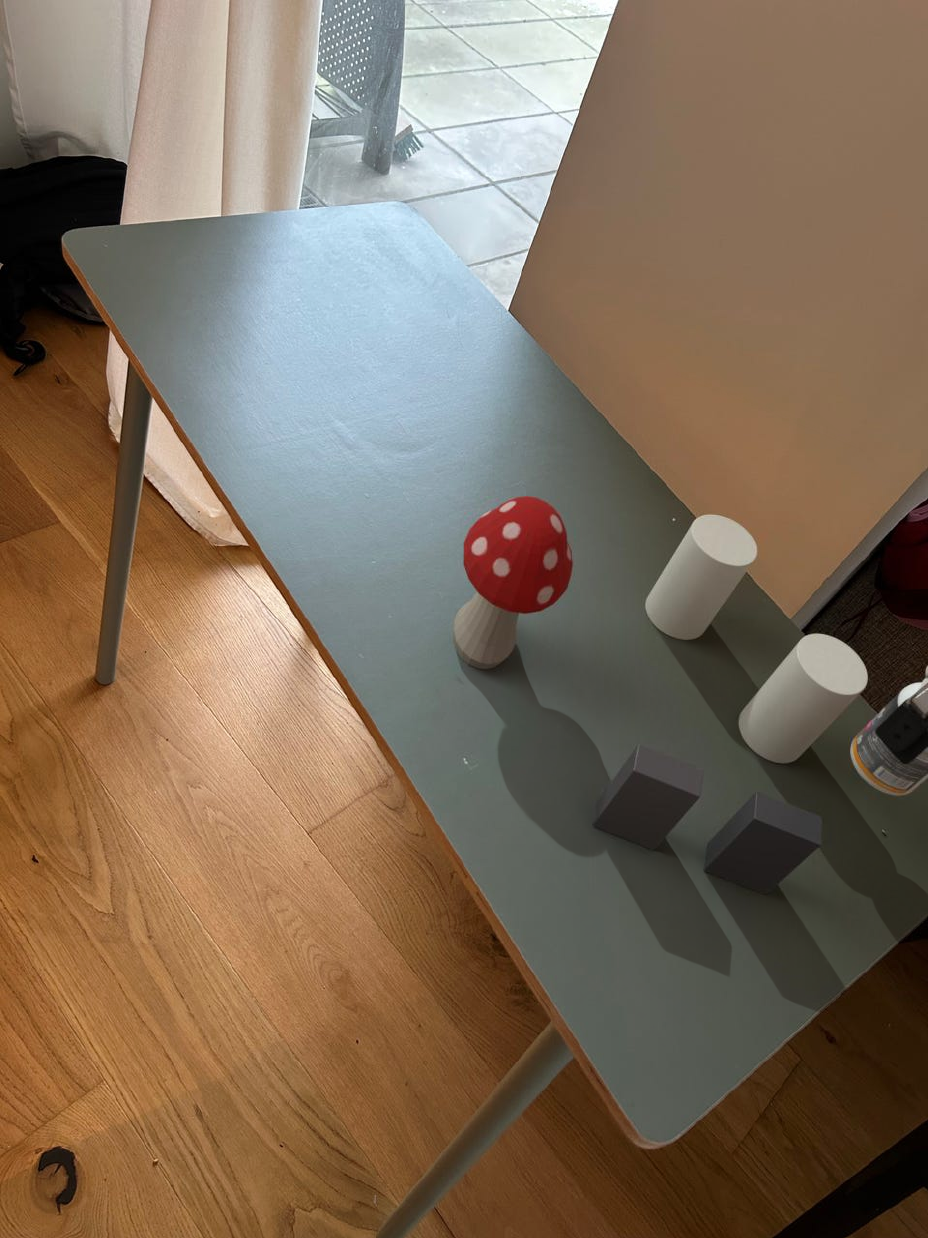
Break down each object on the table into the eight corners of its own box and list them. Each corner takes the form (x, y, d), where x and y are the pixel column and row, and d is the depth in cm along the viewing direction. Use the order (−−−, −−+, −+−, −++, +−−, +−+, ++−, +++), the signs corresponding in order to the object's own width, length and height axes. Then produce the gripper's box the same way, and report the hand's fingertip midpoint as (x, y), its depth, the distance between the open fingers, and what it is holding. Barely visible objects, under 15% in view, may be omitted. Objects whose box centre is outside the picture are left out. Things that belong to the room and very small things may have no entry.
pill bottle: (879, 727, 80) (956, 651, 73) (929, 786, 78) (1014, 713, 70) (832, 747, 77) (908, 670, 70) (882, 809, 75) (966, 736, 67)
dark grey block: (767, 868, 77) (822, 817, 71) (765, 895, 75) (821, 845, 69) (706, 843, 77) (756, 790, 71) (703, 870, 75) (754, 818, 69)
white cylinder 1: (708, 604, 94) (759, 530, 87) (702, 649, 90) (755, 575, 83) (649, 580, 94) (695, 504, 87) (640, 624, 90) (688, 548, 83)
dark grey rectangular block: (658, 824, 77) (704, 769, 71) (654, 851, 75) (700, 797, 69) (597, 800, 77) (638, 743, 71) (592, 826, 75) (633, 770, 69)
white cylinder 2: (804, 720, 88) (867, 650, 81) (801, 774, 84) (868, 706, 77) (740, 694, 88) (798, 622, 81) (735, 747, 84) (795, 676, 76)
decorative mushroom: (524, 701, 81) (590, 578, 70) (421, 672, 80) (472, 542, 69) (535, 611, 88) (597, 486, 77) (440, 584, 87) (489, 453, 76)
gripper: (1071, 655, 55) (882, 817, 68) (1208, 580, 64) (1018, 736, 77) (969, 558, 58) (808, 730, 71) (1113, 499, 67) (946, 662, 80)
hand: (918, 732), depth 74 cm, fingers closed on pill bottle, 5 cm apart
